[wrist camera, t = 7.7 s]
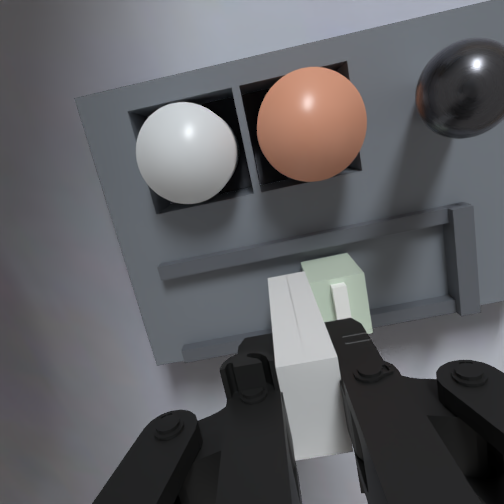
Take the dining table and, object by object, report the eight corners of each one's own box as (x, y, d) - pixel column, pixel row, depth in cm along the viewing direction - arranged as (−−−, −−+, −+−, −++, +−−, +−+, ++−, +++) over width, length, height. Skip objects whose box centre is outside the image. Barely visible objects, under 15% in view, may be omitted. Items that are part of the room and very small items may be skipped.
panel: (102, 105, 18) (62, 95, 15) (497, 13, 17) (567, -25, 13) (170, 335, 21) (151, 377, 18) (509, 270, 20) (569, 300, 16)
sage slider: (300, 262, 17) (310, 287, 14) (347, 252, 17) (367, 276, 14) (310, 313, 17) (321, 348, 14) (355, 304, 17) (376, 338, 14)
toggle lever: (408, 74, 15) (411, 47, 9) (474, 58, 14) (533, 13, 8) (414, 134, 16) (420, 150, 9) (478, 121, 15) (535, 130, 8)
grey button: (153, 121, 18) (123, 114, 14) (230, 103, 18) (222, 91, 14) (174, 197, 19) (151, 213, 15) (246, 182, 19) (244, 193, 15)
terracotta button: (248, 96, 17) (246, 80, 13) (332, 77, 17) (358, 55, 12) (265, 180, 18) (268, 191, 14) (345, 163, 18) (373, 169, 13)
